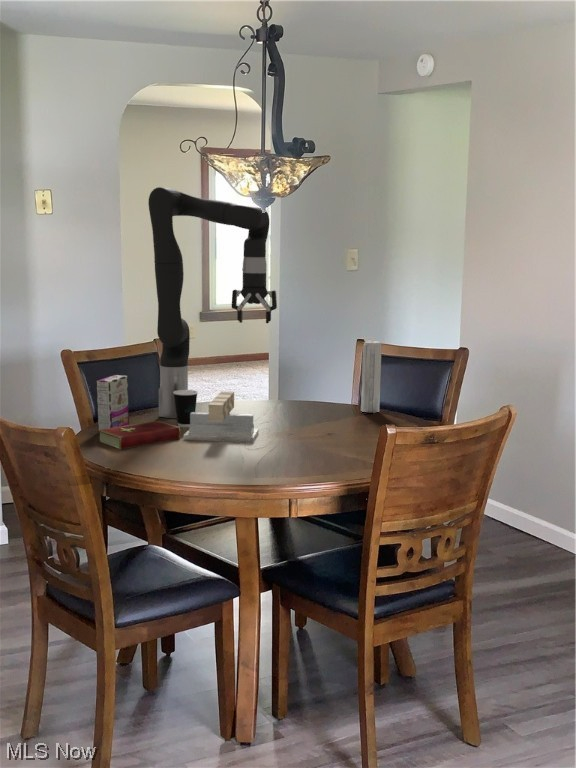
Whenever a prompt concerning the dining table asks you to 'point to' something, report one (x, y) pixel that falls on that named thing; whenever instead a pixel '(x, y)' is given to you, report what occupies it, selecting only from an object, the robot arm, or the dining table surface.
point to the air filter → (371, 376)
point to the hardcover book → (139, 434)
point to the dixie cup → (184, 406)
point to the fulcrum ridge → (221, 428)
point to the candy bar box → (112, 402)
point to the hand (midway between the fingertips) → (254, 322)
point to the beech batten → (221, 406)
